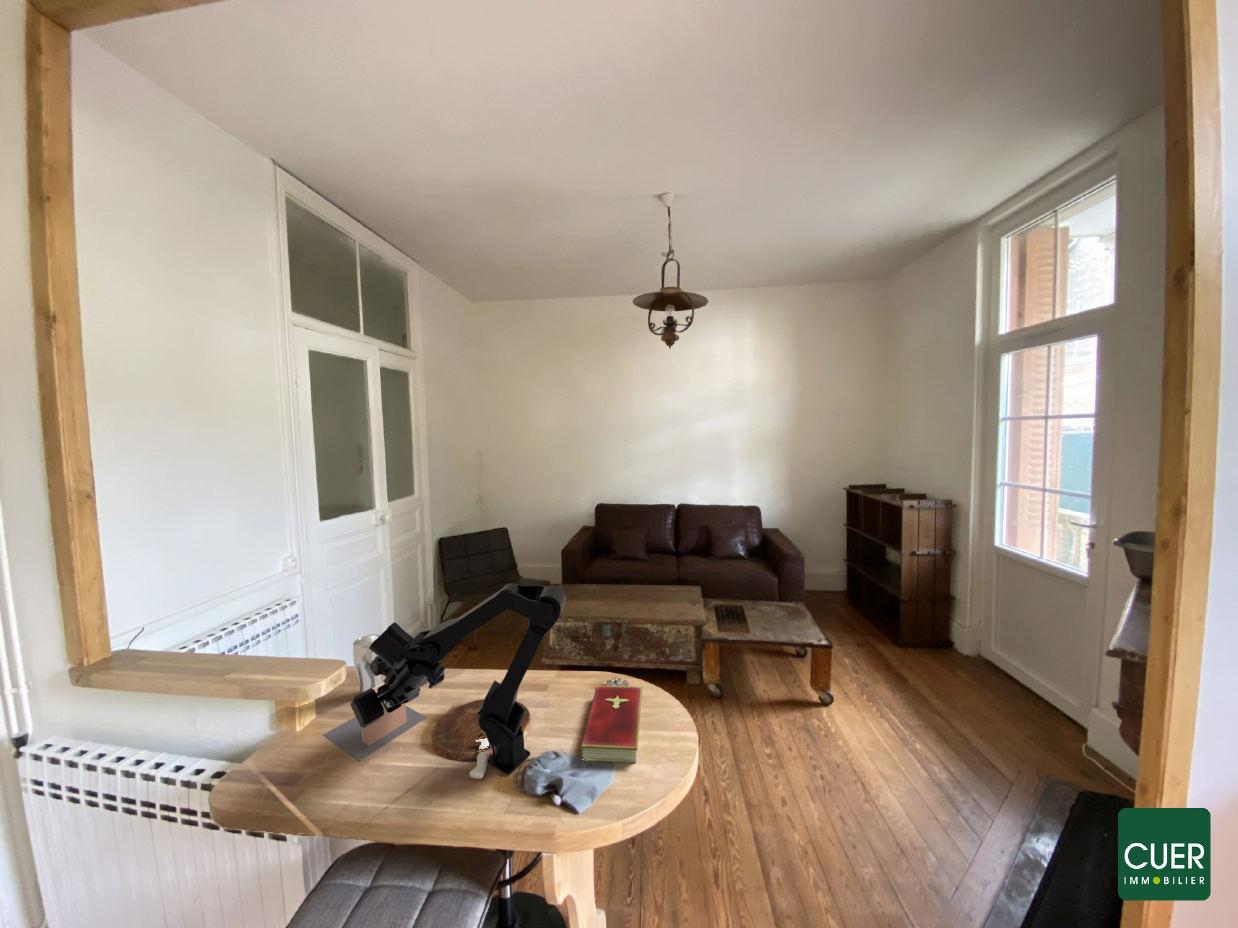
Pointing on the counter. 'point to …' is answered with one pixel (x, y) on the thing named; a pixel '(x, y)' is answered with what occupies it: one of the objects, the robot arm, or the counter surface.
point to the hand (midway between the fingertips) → (387, 705)
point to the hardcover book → (613, 725)
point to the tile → (384, 723)
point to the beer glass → (365, 662)
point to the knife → (481, 761)
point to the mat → (352, 739)
